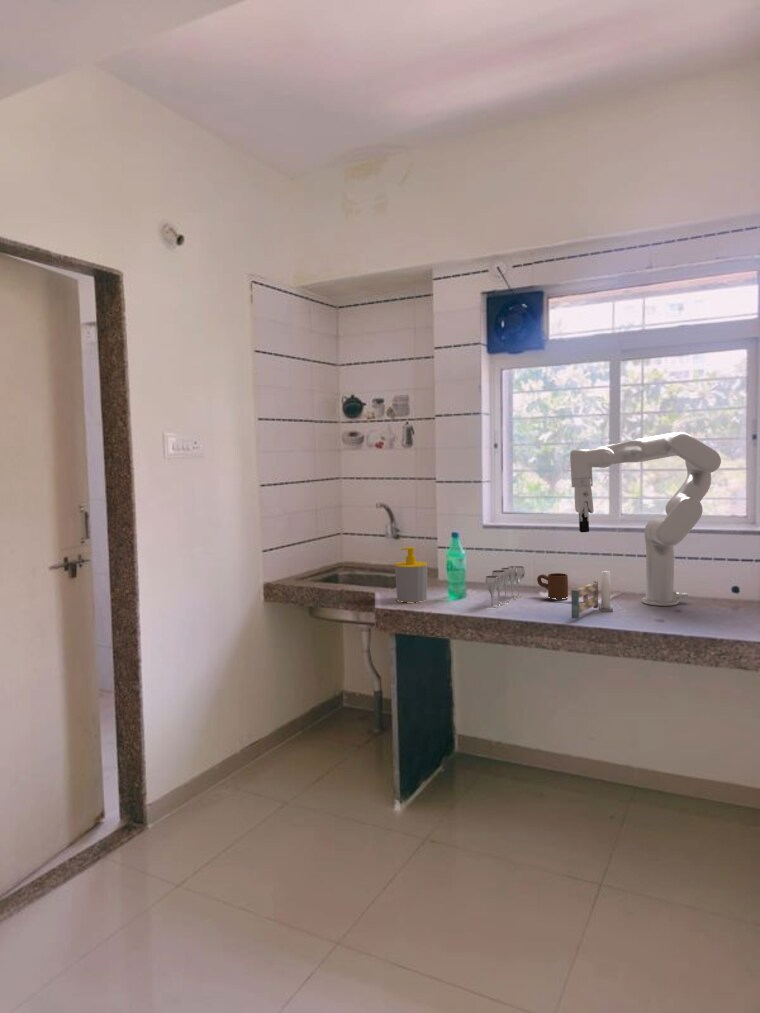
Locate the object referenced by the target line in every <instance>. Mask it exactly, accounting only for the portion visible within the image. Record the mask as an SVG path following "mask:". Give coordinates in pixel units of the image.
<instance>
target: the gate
mask: <svg viewBox="0 0 760 1013" xmlns="http://www.w3.org/2000/svg"><path fill="white" fill-rule="evenodd" d="M592 592H593V594H592V595H593V596H592V597H591V598H589V594H591V593H592ZM570 594H571V604H570V605H571V619H575V620H578V619H579V618H580V613H582V612H585V611H587V610H589V609H590V608H592V607H593V609H599V581H598V580H594V581H593V582H591V583H588V584H585V585H584V586H581V587H579V588H576V589H571V593H570ZM581 597H582V598H583V599H582V602H580V599H579V598H581Z"/></svg>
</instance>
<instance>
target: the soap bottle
mask: <svg viewBox="0 0 760 1013" xmlns="http://www.w3.org/2000/svg"><path fill="white" fill-rule="evenodd" d="M414 550H416V547H414V546H408V547H407V546H406V547H404V548H402V549H401V551H407V555H406V556H405V561H399V562H396V563H395V564H394V575H395V577H394V578H395V587H396V588H395V589H396V597H397V599H398V600H399V601H403V602H419V601H424V600H426V601H427V596H428V595H427V593H428V563H427V562H426V561H420V560H419V561H417V557H416V555H414ZM397 599H396V600H397Z"/></svg>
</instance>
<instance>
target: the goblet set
mask: <svg viewBox="0 0 760 1013" xmlns="http://www.w3.org/2000/svg"><path fill="white" fill-rule="evenodd" d="M525 577H526V570H525V567H524V566H523V565H522V566H520V565H517V566H516V565H515V566H514V565H510V566H507V567H501V568H500V570H499V569H497V570H492V572H491V575H487V576H485V579H484V580H485V582H484V584H485V587H486V589H487V590H488V593H489V594H490V599H491V606H488V607H489V608H496V606H493V605H494V604H495V605H497V606H502V607H504V606H503V605H505V603H507V604H510V603H509V602H510V600H515V601H517V600H516V599H522V598H521V597H523V596H524V595H520V589H519V587H520V584H521V582H522V581H523V579H525ZM515 582H516V586H517V595H513V591H514V590H513V588H514V583H515ZM508 584H510V589H511V598H507V588H508ZM503 587H504V597H505V598H504V600H502V601H501V600H500V599H501V598H500V592H501V589H502V588H503ZM496 590H497V594H498V595H497V596H498V601H497V602H498V603H494V602H493V600H494V594H495V592H496ZM513 596H514V597H516V598H513ZM507 599H508V600H507ZM501 602H502V603H501ZM493 603H494V604H493Z"/></svg>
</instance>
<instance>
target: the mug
mask: <svg viewBox="0 0 760 1013" xmlns="http://www.w3.org/2000/svg"><path fill="white" fill-rule="evenodd" d="M543 579H544V580H546V581H547V583H546V582H543V581H542V580H543ZM536 580H537V584H538V585H539V586H540V587H542V588H545V589H546V590H547V597H550V598H556V599H562V598H566V597H568V598H569V578H568V574H567V573H563V572H562V573H561V572H560V573H559V572H557V573H555V572H554V573H548V575H546V574H539V575H538V576H537V578H536Z"/></svg>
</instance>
